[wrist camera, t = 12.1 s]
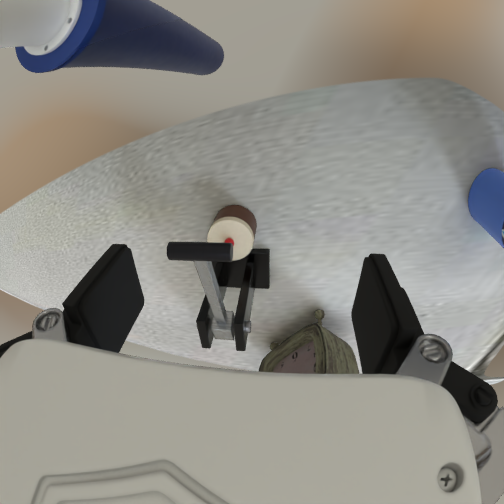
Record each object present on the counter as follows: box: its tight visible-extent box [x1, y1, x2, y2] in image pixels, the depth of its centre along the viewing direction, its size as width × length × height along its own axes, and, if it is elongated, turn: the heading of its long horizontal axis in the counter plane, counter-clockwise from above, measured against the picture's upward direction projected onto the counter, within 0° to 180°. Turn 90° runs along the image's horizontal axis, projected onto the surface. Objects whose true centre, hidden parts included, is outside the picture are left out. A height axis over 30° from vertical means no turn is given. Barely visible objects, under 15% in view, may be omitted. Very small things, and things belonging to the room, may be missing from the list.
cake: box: [207, 205, 257, 260], centre depth 37 cm, size 6×6×6 cm
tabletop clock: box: [259, 309, 359, 374], centre depth 38 cm, size 14×9×25 cm, turn 141°
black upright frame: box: [196, 249, 270, 351], centre depth 37 cm, size 6×9×14 cm, turn 92°
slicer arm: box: [167, 242, 235, 340], centre depth 28 cm, size 15×5×2 cm, turn 2°
